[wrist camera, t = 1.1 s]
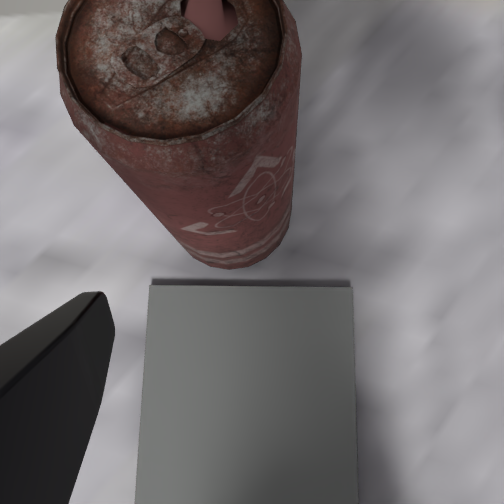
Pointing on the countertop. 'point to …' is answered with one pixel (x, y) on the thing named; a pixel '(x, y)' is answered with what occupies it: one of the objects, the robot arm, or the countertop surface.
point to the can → (191, 113)
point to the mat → (248, 396)
